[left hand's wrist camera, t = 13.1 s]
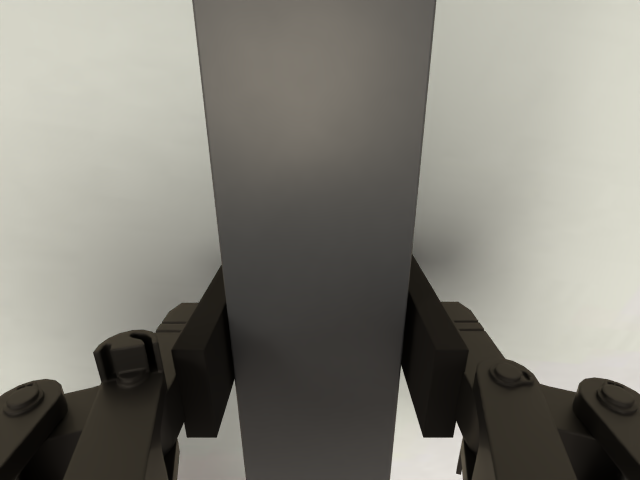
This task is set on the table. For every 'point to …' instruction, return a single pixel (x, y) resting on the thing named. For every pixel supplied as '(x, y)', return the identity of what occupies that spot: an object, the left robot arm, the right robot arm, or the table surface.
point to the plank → (316, 219)
